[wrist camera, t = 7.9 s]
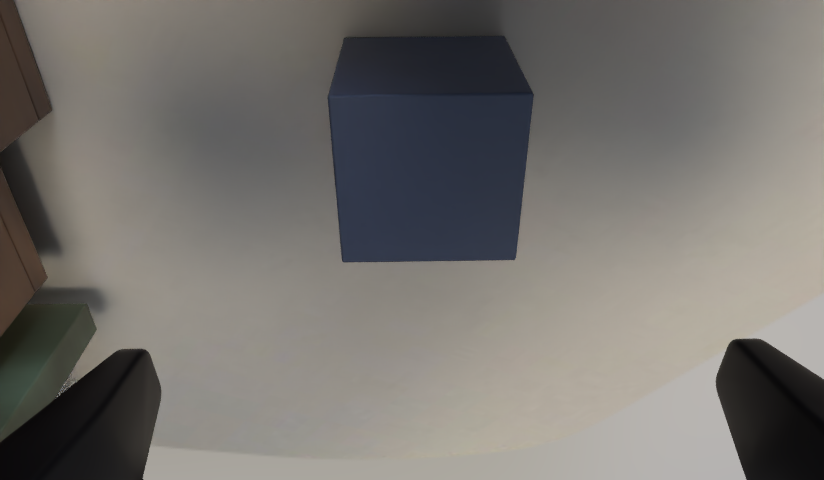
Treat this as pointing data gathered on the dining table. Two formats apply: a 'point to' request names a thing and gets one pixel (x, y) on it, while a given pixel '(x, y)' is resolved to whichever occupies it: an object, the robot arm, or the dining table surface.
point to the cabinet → (18, 79)
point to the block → (429, 148)
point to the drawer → (31, 326)
